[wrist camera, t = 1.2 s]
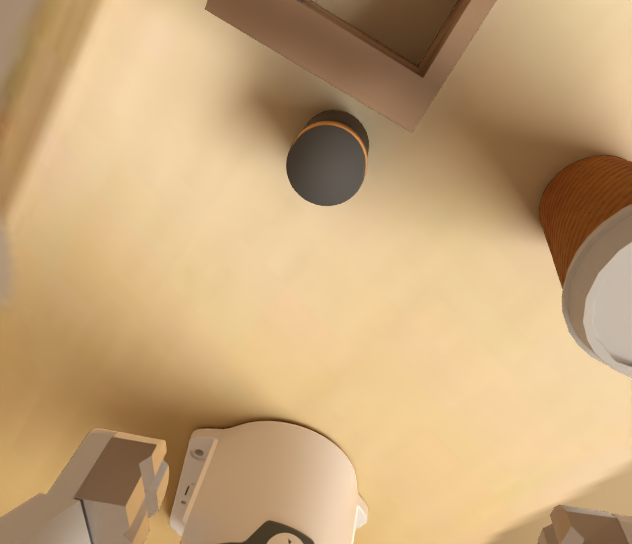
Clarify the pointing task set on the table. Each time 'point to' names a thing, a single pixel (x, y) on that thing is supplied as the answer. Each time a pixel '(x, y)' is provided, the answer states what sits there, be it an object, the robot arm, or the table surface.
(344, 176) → the orange-banded dark cylinder
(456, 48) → the brown wooden frame
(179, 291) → the table surface
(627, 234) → the disposable coffee cup
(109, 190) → the table surface
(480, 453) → the table surface
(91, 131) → the table surface
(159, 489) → the robot arm
